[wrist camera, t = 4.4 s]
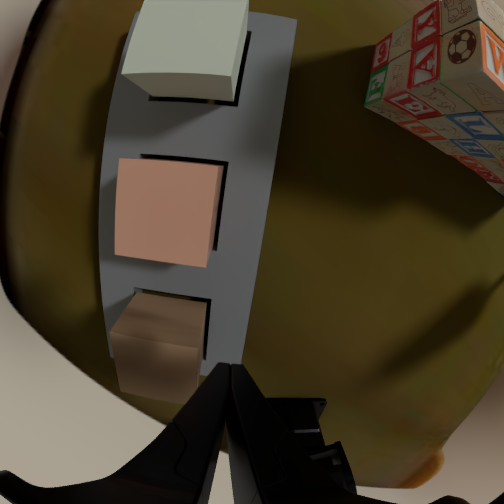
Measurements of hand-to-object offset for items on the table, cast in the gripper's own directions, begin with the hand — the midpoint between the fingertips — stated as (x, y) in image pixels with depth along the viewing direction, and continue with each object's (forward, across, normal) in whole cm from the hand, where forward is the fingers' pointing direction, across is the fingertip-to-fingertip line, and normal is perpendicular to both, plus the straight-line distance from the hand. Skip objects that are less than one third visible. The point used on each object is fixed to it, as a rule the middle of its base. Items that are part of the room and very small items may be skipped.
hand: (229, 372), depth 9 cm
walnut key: (+10, +4, +5) cm, 12 cm away
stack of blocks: (+12, -18, -14) cm, 26 cm away
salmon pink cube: (+11, +4, -4) cm, 12 cm away
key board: (+11, +4, -4) cm, 13 cm away
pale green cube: (+9, +4, -13) cm, 16 cm away
